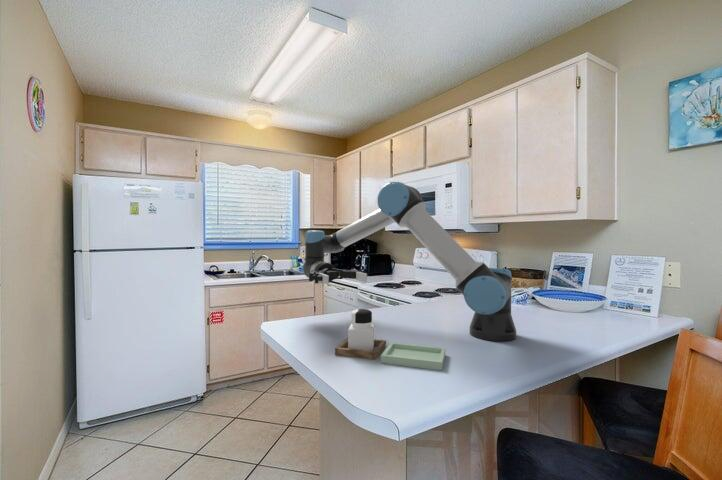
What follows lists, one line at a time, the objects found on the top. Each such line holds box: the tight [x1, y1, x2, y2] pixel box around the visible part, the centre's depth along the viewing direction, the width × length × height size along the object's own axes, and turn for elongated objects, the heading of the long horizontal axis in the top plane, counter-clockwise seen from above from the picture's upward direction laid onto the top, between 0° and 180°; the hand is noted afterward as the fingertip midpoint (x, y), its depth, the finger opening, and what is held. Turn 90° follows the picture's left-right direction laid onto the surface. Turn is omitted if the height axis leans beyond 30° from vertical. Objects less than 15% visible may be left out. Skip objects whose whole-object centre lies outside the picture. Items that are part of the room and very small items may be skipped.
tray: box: [380, 341, 447, 371], centre depth 96 cm, size 16×12×2 cm
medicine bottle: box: [347, 308, 375, 351], centre depth 103 cm, size 7×7×12 cm
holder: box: [334, 337, 387, 360], centre depth 103 cm, size 12×12×2 cm
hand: (347, 278), depth 111 cm, fingers open, 13 cm apart
